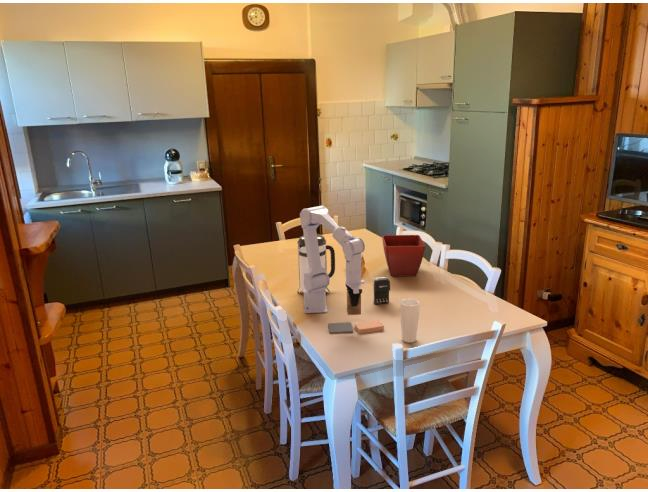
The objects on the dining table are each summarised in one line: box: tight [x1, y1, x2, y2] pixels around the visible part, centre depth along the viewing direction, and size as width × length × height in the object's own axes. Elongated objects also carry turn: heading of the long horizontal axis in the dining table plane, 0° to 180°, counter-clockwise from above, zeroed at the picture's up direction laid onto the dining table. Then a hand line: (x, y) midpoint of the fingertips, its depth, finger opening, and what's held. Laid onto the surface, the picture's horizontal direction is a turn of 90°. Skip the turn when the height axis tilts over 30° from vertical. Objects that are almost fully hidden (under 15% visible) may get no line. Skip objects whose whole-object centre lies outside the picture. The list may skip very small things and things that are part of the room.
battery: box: [372, 276, 391, 305], centre depth 213 cm, size 7×4×11 cm, turn 101°
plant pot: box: [381, 234, 426, 277], centre depth 248 cm, size 19×19×17 cm
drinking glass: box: [399, 298, 420, 344], centre depth 180 cm, size 7×7×15 cm
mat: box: [328, 321, 354, 334], centre depth 192 cm, size 9×8×1 cm
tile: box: [354, 320, 385, 334], centre depth 191 cm, size 10×2×5 cm
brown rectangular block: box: [346, 291, 362, 316], centre depth 189 cm, size 5×4×8 cm
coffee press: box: [296, 233, 336, 295], centre depth 224 cm, size 17×16×30 cm
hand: (353, 303), depth 189 cm, fingers closed on brown rectangular block, 3 cm apart
